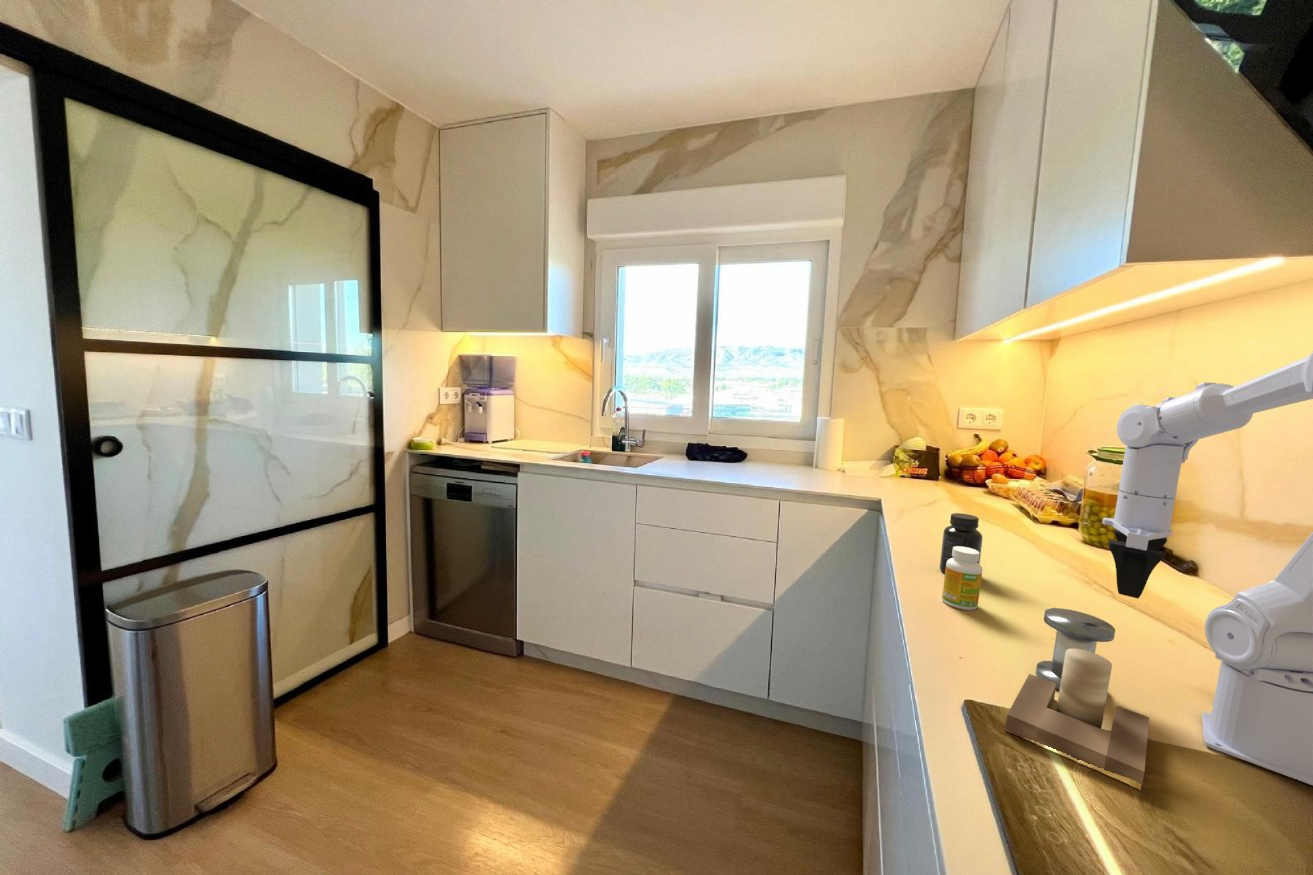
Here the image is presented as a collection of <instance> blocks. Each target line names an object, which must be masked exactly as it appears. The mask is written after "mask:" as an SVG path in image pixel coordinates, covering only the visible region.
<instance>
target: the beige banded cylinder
mask: <svg viewBox="0 0 1313 875" xmlns="http://www.w3.org/2000/svg"><path fill="white" fill-rule="evenodd" d="M1112 667H1113V663H1112V662H1111V661H1110V660H1109V659H1107V658H1106V657H1104V656H1102V655H1100V654H1098V653H1096V652H1095V653H1092V652H1089V651H1086V650H1081V649H1067V650H1066V652H1065V659H1064V665H1063V672H1062V678H1061V684H1060V691H1058V696H1057V697H1058V699H1057V705H1056V709H1055V711H1057V712H1059V713H1062V714H1064V715H1067V716H1069V717H1072V718H1074V719H1077V720H1080V721H1082V722H1085V723H1087V724H1090V725H1092V726H1095V727H1097V728H1100V729H1103V728H1102V726H1103V720H1104V715H1105V709H1106V705H1107V704H1106V702H1107V699H1108V698H1107V696H1108V691H1109V686H1110V680H1111V674H1112V670H1113V669H1112Z"/></svg>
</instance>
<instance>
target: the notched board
mask: <svg viewBox="0 0 1313 875" xmlns="http://www.w3.org/2000/svg"><path fill="white" fill-rule="evenodd" d="M1027 675H1028V676H1027V677H1026V679H1025V681H1024V683H1023V684H1022V686H1021V688H1020V690H1019V691H1018V694H1017V696H1016V697H1015V699H1014V701H1013V703H1012V704H1011V707H1010V709H1009V711H1008V712H1007V715H1006V721H1005V727H1004V730H1005V729H1006V730H1008V731H1010V732H1012V733H1013V734H1016V735H1017V736H1020V737H1022V738H1027V739H1029V740H1033V741H1035V742H1039V743H1040V744H1043V745H1046V746H1048V747H1051V748H1053V749H1056V750H1057V751H1061V752H1063V753H1066V754H1067V755H1071V757H1073V758H1076V759H1077V760H1082V761H1084V762H1086V763H1088V764H1092V765H1094V766H1097V767H1098V768H1102V769H1103V768H1104V770H1106V771H1110V772H1112V773H1116V774H1119V775H1121V776H1124V777H1127V778H1130V779H1132V780H1134V781H1136V782H1138V783H1139V784H1141V785H1142V786H1143V782H1144V776H1145V769H1146V760H1147V759H1146V758H1147V749H1148V748H1147V747H1148V735H1149V727H1150V726H1149V725H1150V724H1149V722H1150V716H1146V715H1145V714H1141V713H1139V712H1136V711H1134V710H1130V709H1128V708H1125V707H1123V706H1119V705H1116V706H1115V709H1114V710H1115V711H1114V716H1113V720H1112V725H1111V729H1110V731H1107V730H1105V729H1103V728H1101V729H1100V728H1097V727H1095V726H1092V725H1090V724H1087V723H1085V722H1082V721H1080V720H1077V719H1074V718H1072V717H1069V716H1067V715H1064V714H1062V713H1059V712H1057V711H1056V710H1054V709H1052V705H1053V703H1054V700H1055V697H1056V696H1055V695H1056V691H1057V690H1056V683H1054V682H1051V681H1048V680H1045V679H1042V678H1040V677H1037V675H1034V674H1031V673H1028V674H1027ZM1017 736H1016V737H1017Z"/></svg>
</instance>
